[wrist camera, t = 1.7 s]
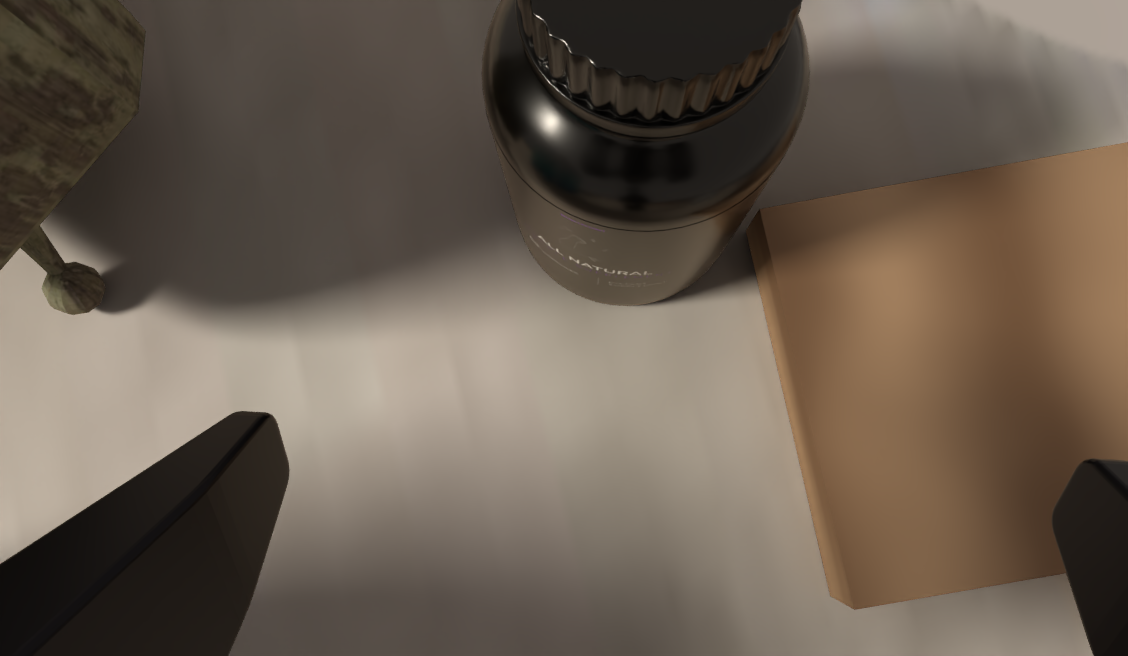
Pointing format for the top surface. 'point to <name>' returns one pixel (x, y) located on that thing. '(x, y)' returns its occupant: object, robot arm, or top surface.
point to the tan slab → (950, 365)
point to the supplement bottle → (640, 131)
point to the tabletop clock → (60, 121)
